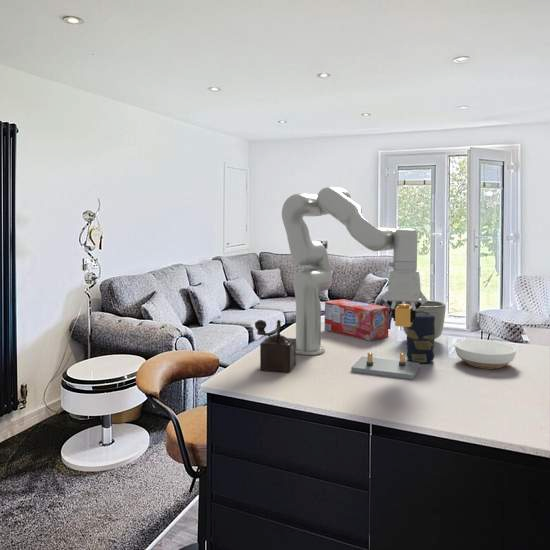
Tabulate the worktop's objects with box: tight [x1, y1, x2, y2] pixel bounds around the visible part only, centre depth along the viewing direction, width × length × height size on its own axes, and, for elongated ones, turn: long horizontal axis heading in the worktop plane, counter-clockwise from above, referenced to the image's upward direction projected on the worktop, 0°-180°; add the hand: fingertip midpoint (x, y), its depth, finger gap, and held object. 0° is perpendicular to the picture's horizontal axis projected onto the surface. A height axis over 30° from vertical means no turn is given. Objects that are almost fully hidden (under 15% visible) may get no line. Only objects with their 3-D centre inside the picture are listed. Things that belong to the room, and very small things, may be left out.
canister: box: [406, 311, 435, 364], centre depth 171 cm, size 10×10×18 cm
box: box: [324, 298, 390, 342], centre depth 213 cm, size 27×13×14 cm, turn 40°
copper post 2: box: [399, 352, 406, 366], centre depth 161 cm, size 2×2×6 cm
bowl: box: [454, 339, 517, 370], centre depth 167 cm, size 20×20×6 cm
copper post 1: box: [367, 352, 373, 366], centre depth 162 cm, size 2×2×6 cm
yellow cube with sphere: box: [394, 303, 412, 327], centre depth 159 cm, size 5×5×7 cm
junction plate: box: [350, 355, 421, 380], centre depth 162 cm, size 20×14×2 cm
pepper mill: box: [254, 319, 297, 374], centre depth 161 cm, size 16×11×18 cm
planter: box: [401, 299, 447, 341], centre depth 198 cm, size 17×17×16 cm
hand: (403, 320), depth 160 cm, fingers closed on yellow cube with sphere, 4 cm apart
